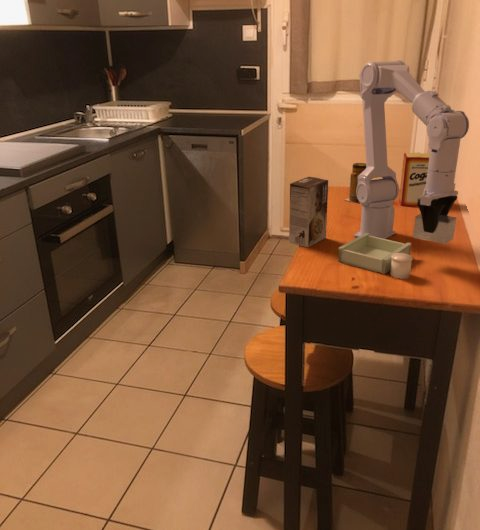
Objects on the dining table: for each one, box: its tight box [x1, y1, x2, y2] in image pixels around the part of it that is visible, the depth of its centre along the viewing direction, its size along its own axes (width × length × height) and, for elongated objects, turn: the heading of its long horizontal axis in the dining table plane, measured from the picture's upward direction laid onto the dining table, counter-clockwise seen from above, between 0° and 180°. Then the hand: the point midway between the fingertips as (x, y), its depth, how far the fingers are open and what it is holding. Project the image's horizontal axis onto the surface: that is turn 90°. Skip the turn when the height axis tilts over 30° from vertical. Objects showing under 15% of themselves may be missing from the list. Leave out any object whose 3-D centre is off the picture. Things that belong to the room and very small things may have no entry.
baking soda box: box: [398, 152, 430, 207], centre depth 162 cm, size 10×6×16 cm
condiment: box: [344, 162, 367, 204], centre depth 168 cm, size 7×8×12 cm
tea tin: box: [412, 212, 457, 245], centre depth 115 cm, size 5×8×5 cm, turn 49°
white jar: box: [389, 253, 414, 280], centre depth 113 cm, size 5×5×4 cm
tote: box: [337, 233, 412, 275], centre depth 122 cm, size 13×12×4 cm
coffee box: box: [288, 176, 329, 248], centre depth 132 cm, size 9×6×16 cm
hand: (433, 228), depth 116 cm, fingers closed on tea tin, 5 cm apart
